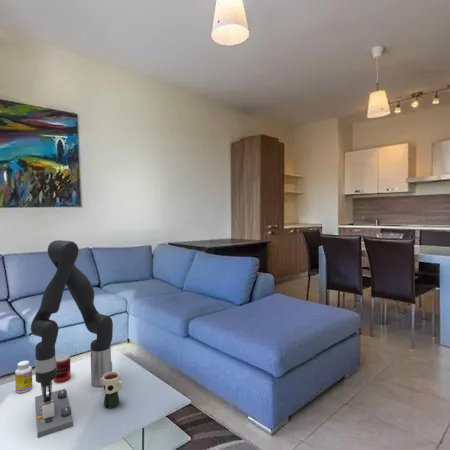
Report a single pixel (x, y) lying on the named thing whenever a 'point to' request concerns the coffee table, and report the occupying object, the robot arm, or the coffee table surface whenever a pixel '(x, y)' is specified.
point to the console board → (60, 417)
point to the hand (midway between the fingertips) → (47, 408)
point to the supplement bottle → (23, 377)
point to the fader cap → (48, 409)
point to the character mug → (111, 388)
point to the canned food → (62, 368)
